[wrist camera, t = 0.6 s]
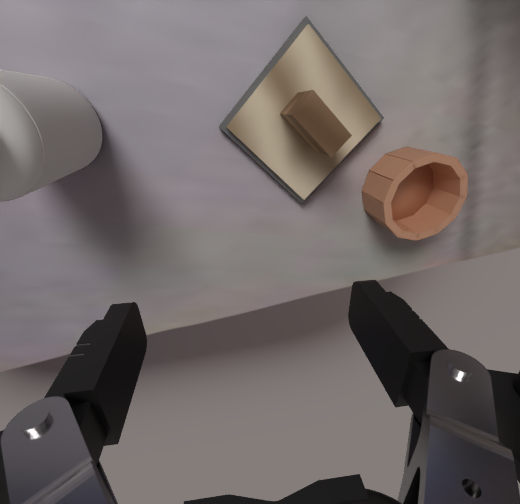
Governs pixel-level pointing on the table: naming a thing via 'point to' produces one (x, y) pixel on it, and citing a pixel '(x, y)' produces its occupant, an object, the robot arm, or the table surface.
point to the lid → (304, 115)
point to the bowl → (415, 192)
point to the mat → (257, 83)
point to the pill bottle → (42, 132)
